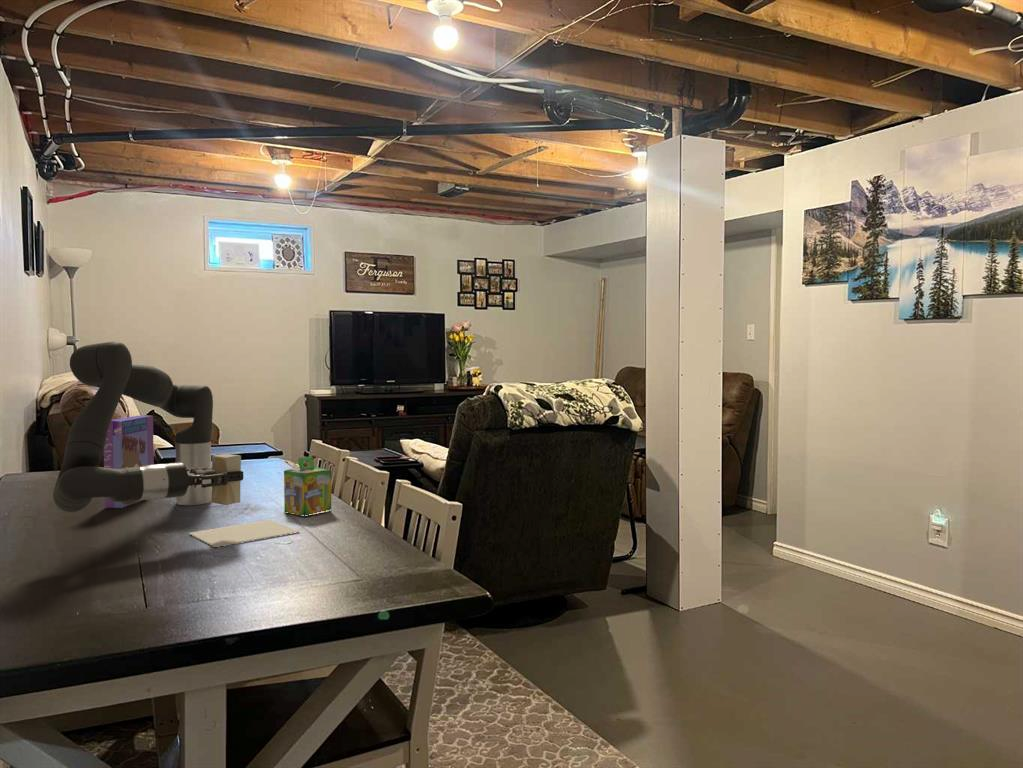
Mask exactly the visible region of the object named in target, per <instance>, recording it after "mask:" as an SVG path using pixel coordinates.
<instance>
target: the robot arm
mask: <svg viewBox="0 0 1023 768" xmlns="http://www.w3.org/2000/svg"><path fill="white" fill-rule="evenodd" d="M69 368H70V370H71V372H72V374H73V376H74V377H75V378H76V379H77V381H79V382H80V383H82V384H83V385H85V386H88V387H94V388H98V389H97V391H96V392H95V394H94V395H93V397H92V398H91V399H90V401H89V402H88V403H87V404H86V405H85V406H84V407H83V408H82V410H81V411H80V412H79V413H78V415H77V416H76V417H75V418H74V420H73V422H72V424H71V427H70V429H69V433H68V437H67V441H66V444H65V449H64V456H63V462H62V464H61V467H60V470H59V473H58V476H57V480H56V482H55V486H54V490H53V493H52V494H53V495H52V496H53V497H52V498H53V501H54V504H55V505H56V507H57V508H58V509H60V510H62V511H63V512H65V513H76V512H79V511H82V510H83V509H85V508H86V507H87V506H88V505H89V504H90V503H91V501H92V500H93V498H105V497H109V499H110V500H112V501H114V502H124V501H133V500H143V501H145V500H147V501H149V500H159V499H161V500H162V499H168V498H176V499H175V501H176V502H175V503H176V505H179V506H198V505H204V504H205V503H206V504H209V503H212V502H211V499H212V486H220V485H227V484H228V482H233V481H241V482H243V480H244V472H243V471H242V470H241V471H232V472H216V470H212V441H211V439H212V432H213V411H214V409H213V408H214V396H213V392H212V390H211V389H210V387H209V386H208V385H201V384H198V385H196V384H195V385H194V384H192V385H191V384H179V385H178V384H173V380H172V378H171V376H170V375H169V374H167V373H166V372H165V371H163V370H161V369H159V368H157V367H155V366H153V365H150V364H144V363H139V362H138V363H137V362H133V359H132V354H131V352H130V350H129V348H128V347H127V346H126V345H125V344H124V342H120V341H106V342H99V343H94V344H87V345H83V346H81V347H79V348H77V349H75V350H74V351H73V352H72V354H71V355H70V357H69ZM122 396H125V397H128V398H131V399H134V400H136V401H138V402H141V403H144V404H146V405H150V406H153V407H156V408H159V409H161V410H163V411H165V412H166V413H168V414H170V415H172V416H173V417H176V418H179V419H181V418H182V419H193V422H192V425H191V426H189V427H188V428H186V429H182V430H179V431H177V432H176V433H175V436H174V439H175V440H174V441H175V442H174V443H175V462H168V463H156V464H155V463H154V465H146V466H142V467H132V468H122V469H112V468H104V466H103V467H102V466H99V465H100V462H101V460H102V458H103V457H104V447H105V442H106V438H107V433H108V429H109V425H110V422H111V420H113V417H114V414H115V412H116V409H117V408H118V405H119V402H120V400H121V398H122ZM221 476H222V481H218V477H221Z"/></svg>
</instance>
